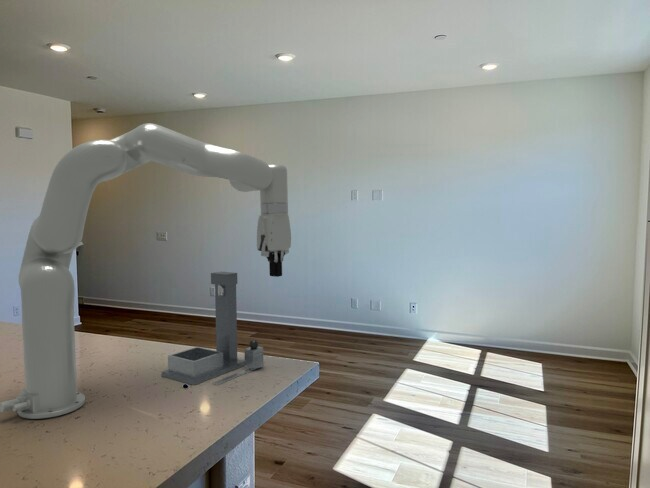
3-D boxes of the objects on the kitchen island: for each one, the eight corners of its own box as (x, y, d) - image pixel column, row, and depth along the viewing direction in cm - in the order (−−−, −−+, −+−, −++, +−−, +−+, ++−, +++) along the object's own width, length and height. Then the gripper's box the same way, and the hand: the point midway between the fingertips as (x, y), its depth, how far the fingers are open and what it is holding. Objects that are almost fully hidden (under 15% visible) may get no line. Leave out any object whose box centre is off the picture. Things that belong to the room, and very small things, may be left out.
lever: (253, 369, 124) (252, 342, 123) (244, 367, 125) (244, 340, 125) (263, 365, 127) (263, 338, 127) (255, 363, 129) (254, 337, 128)
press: (207, 389, 112) (205, 283, 110) (161, 376, 121) (159, 278, 119) (260, 367, 128) (259, 274, 126) (216, 357, 137) (215, 270, 135)
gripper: (280, 210, 139) (282, 272, 141) (245, 210, 127) (247, 278, 128) (301, 209, 135) (302, 273, 137) (267, 210, 123) (268, 280, 124)
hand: (275, 275), depth 132 cm, fingers closed
